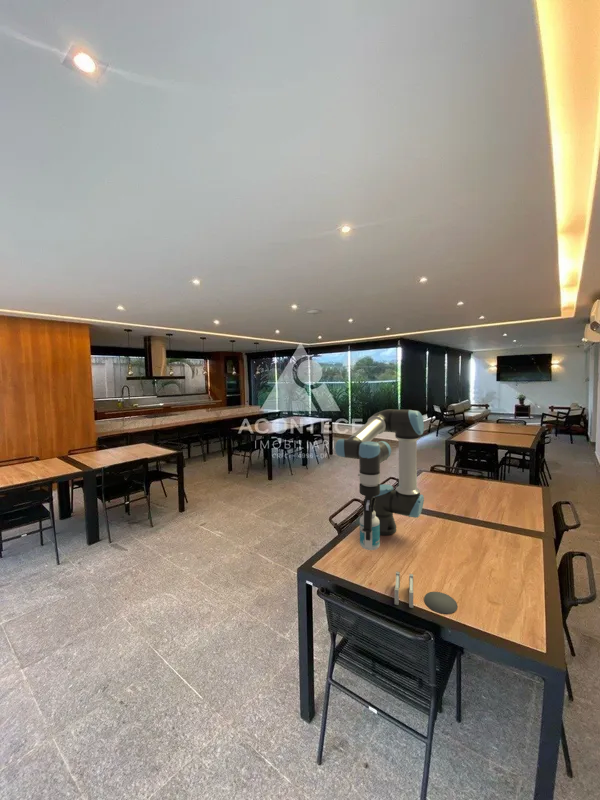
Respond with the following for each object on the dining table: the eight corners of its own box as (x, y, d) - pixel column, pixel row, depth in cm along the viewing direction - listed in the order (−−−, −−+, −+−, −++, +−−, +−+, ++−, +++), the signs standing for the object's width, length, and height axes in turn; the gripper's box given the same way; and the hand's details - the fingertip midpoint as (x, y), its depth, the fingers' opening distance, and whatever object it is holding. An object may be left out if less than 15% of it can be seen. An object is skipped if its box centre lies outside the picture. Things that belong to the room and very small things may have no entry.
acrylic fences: (395, 584, 129) (395, 571, 128) (413, 588, 127) (413, 574, 126) (394, 604, 118) (394, 589, 117) (413, 608, 116) (413, 593, 115)
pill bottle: (377, 540, 129) (376, 507, 128) (382, 550, 121) (382, 515, 120) (358, 541, 129) (357, 508, 128) (362, 551, 121) (361, 516, 120)
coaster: (423, 590, 125) (423, 589, 125) (455, 596, 122) (455, 594, 122) (424, 609, 115) (424, 608, 115) (459, 616, 111) (459, 615, 111)
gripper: (363, 474, 134) (363, 528, 136) (354, 491, 115) (355, 554, 117) (382, 476, 131) (382, 531, 133) (376, 493, 112) (376, 557, 114)
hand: (369, 541), depth 125 cm, fingers closed on pill bottle, 7 cm apart
